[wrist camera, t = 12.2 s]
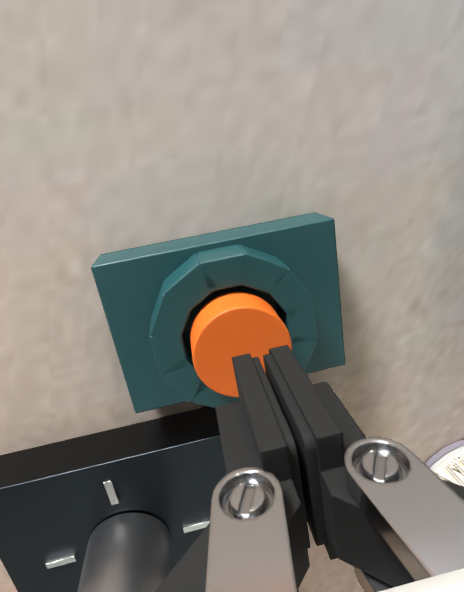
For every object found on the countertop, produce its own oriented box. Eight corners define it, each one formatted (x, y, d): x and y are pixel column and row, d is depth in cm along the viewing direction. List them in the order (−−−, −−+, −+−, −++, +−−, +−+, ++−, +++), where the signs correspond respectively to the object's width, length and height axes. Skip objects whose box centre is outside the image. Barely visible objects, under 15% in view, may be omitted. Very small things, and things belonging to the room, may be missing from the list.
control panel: (55, 589, 23) (40, 641, 20) (-9, 457, 19) (-36, 500, 17) (251, 537, 24) (260, 580, 21) (223, 402, 21) (230, 435, 18)
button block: (139, 387, 19) (131, 440, 16) (100, 254, 17) (79, 279, 13) (328, 344, 20) (363, 385, 17) (316, 211, 18) (354, 224, 14)
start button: (199, 382, 16) (203, 407, 14) (181, 301, 15) (182, 319, 13) (284, 363, 16) (297, 385, 14) (273, 282, 15) (286, 296, 13)
